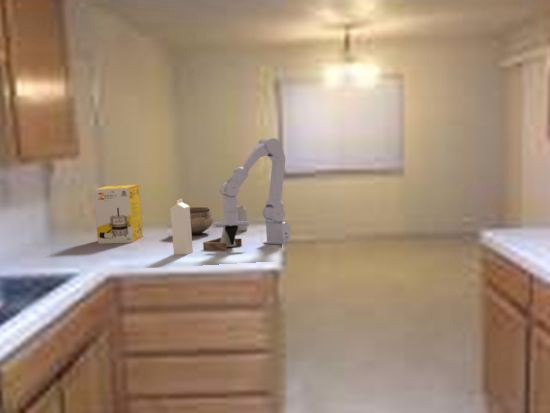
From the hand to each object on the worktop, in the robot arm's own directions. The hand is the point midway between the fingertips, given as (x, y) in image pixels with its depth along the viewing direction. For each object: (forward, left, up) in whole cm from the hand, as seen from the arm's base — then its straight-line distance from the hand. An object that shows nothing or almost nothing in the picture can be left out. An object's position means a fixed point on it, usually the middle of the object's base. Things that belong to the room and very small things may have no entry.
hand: (232, 244), depth 292 cm
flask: (+4, -2, -2) cm, 4 cm away
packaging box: (+67, -5, -2) cm, 67 cm away
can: (+24, -41, -2) cm, 48 cm away
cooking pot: (+41, -27, -2) cm, 49 cm away
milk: (+14, +15, -2) cm, 21 cm away
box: (+5, 0, -2) cm, 5 cm away
